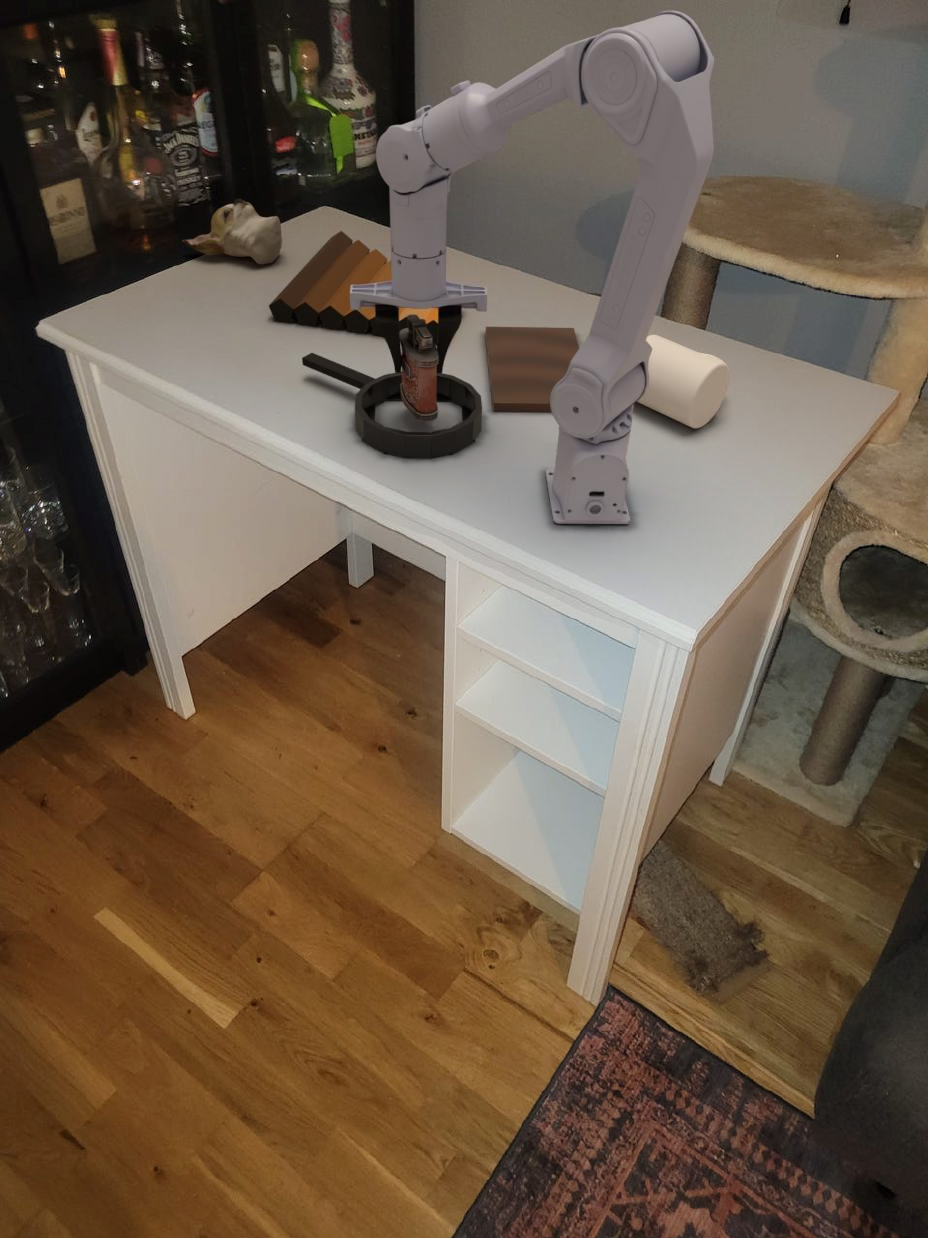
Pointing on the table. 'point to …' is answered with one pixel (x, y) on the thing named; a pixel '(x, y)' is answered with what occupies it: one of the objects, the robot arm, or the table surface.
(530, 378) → the board
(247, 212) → the ceramic sculpture
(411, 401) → the lighter
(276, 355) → the table surface
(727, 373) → the mug
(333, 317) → the pan flute
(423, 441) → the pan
